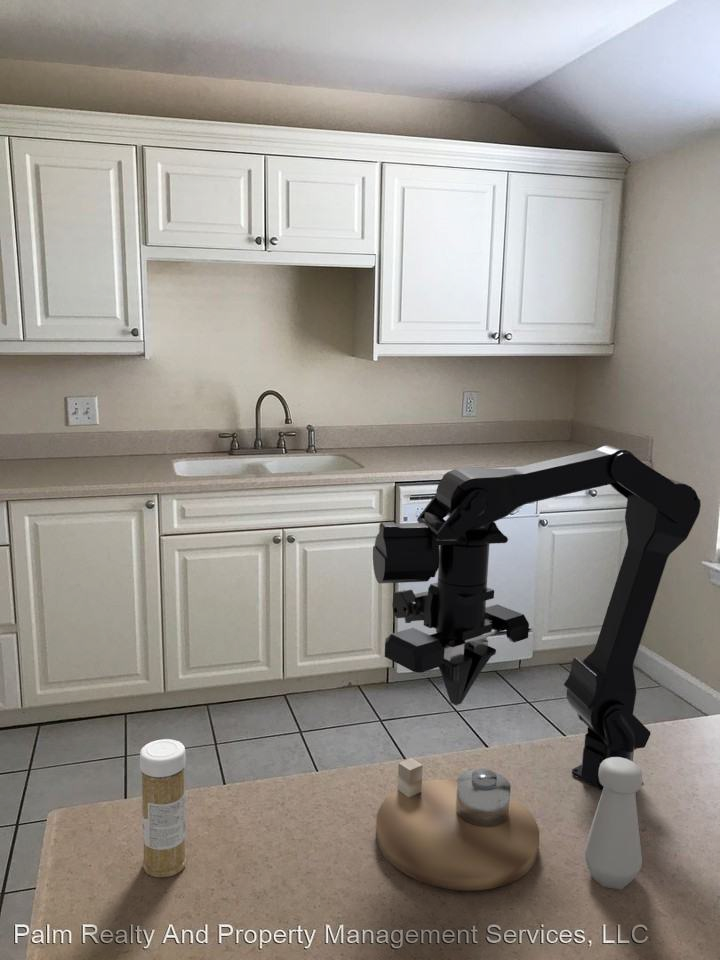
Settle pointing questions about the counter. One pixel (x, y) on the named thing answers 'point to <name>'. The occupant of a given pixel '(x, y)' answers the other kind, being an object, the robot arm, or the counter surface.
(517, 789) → the counter surface
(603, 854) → the salt shaker
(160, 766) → the spice bottle
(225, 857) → the counter surface
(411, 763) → the disc
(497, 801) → the cover
